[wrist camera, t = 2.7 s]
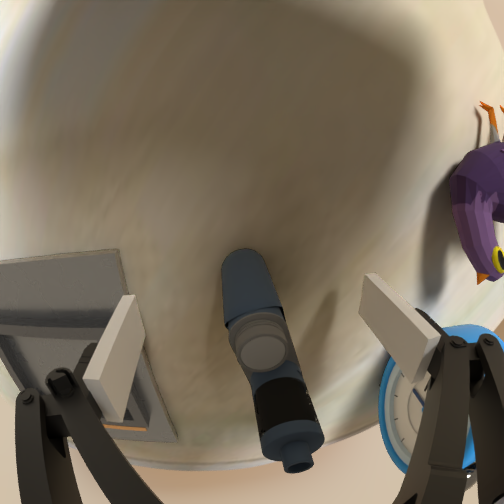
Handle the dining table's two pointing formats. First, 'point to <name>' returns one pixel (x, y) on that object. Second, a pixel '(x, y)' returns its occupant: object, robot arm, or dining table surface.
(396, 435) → the alarm clock
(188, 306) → the dining table surface
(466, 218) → the toy
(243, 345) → the vaping device
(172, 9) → the dining table surface
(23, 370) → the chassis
